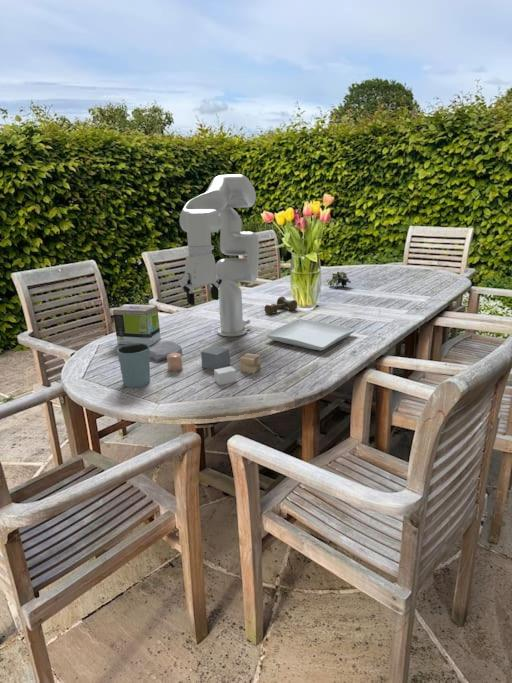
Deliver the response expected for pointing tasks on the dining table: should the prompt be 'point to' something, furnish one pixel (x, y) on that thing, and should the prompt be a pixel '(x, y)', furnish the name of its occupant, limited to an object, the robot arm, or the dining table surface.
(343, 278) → the miniature tree
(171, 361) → the terracotta cylinder
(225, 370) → the pale grey block
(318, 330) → the square plate
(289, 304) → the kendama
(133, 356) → the blue-grey cup
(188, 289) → the robot arm
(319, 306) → the dining table surface
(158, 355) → the stone block
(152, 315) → the tea box
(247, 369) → the oak cube
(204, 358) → the slate block
